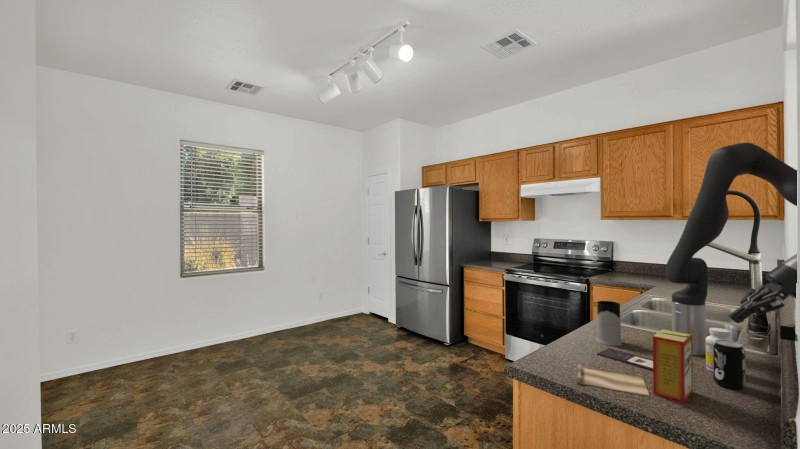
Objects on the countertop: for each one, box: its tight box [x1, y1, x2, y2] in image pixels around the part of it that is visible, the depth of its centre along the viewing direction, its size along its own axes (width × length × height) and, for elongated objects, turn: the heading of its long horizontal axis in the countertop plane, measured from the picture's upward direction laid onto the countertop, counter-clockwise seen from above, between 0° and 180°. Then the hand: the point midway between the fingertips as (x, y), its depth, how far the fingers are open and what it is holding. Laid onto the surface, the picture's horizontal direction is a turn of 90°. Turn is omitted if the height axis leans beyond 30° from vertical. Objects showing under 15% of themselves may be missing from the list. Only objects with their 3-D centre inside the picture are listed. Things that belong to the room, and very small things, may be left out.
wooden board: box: [577, 362, 650, 397], centre depth 103 cm, size 12×17×2 cm
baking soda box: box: [652, 328, 694, 404], centre depth 95 cm, size 10×6×16 cm
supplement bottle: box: [705, 327, 734, 373], centre depth 108 cm, size 7×7×13 cm
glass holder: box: [595, 300, 623, 347], centre depth 138 cm, size 9×14×15 cm, turn 143°
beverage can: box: [713, 340, 747, 391], centre depth 99 cm, size 7×7×12 cm
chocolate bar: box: [596, 347, 653, 372], centre depth 118 cm, size 9×1×18 cm
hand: (732, 319), depth 90 cm, fingers closed
